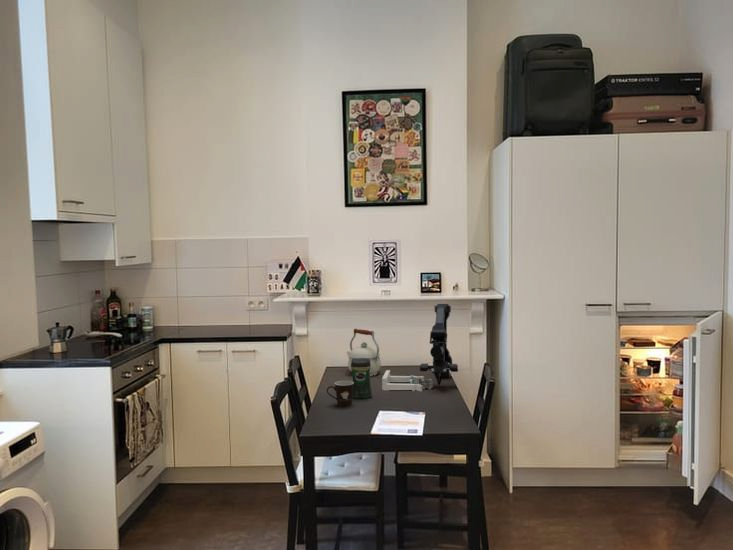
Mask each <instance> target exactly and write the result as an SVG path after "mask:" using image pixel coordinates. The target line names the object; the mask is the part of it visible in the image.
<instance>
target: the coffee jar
mask: <svg viewBox="0 0 733 550" xmlns="http://www.w3.org/2000/svg"><path fill="white" fill-rule="evenodd" d="M370 369H371V364H370V359H369V358H353V359H352V361H351V370H352V371H351V370H350V371H351V373H352V374H351V377H352V378H351V379H352V380H351V381H352V382H354V386H353V397H352V399H369V398H371V397H372V395H373V391H372V384H371V376H370Z"/></svg>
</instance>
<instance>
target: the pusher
mask: <svg viewBox="0 0 733 550" xmlns="http://www.w3.org/2000/svg"><path fill="white" fill-rule="evenodd" d="M409 376H410V383H409V384H415V383H414V376H415V374H410V375H409Z"/></svg>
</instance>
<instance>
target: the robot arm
mask: <svg viewBox="0 0 733 550" xmlns="http://www.w3.org/2000/svg"><path fill="white" fill-rule="evenodd" d="M434 313H435V323H434V325H433V326H432V327H431V331H430V335H429V344H431V345H432V347H431V349H430V352H429V353H430V356H431V357H432V365H429V363H420V365H419V371H420V372H427V371H428V370H431V374H434V377H435V380H436V382H437V385H438V386H439V385H440V386H441V382H442V379H450V372H451V373H453V372H454V373H458V372H459V367H458V364H457V363H453V358H452V355H451V353H450V350H449V349H448V319H449V317H450V316H451V313H452V306H451V305H450V304H449V303H437V305H434Z"/></svg>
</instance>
